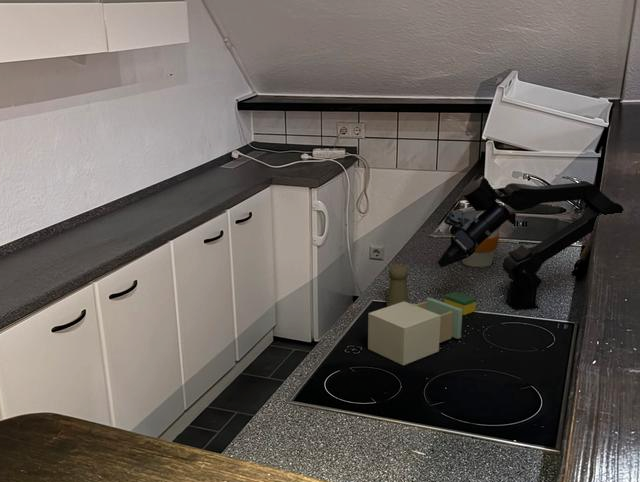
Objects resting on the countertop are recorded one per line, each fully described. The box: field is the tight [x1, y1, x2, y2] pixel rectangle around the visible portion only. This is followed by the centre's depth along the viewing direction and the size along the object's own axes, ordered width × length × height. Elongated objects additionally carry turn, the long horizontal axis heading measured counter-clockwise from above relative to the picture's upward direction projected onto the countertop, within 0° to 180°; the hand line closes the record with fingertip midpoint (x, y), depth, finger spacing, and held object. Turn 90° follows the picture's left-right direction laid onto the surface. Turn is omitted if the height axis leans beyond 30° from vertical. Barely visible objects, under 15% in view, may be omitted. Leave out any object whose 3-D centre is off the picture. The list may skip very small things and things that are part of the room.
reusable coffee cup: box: [461, 209, 501, 268], centre depth 233 cm, size 13×13×15 cm
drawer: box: [414, 297, 463, 344], centre depth 181 cm, size 12×10×7 cm
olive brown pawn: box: [385, 264, 410, 307], centre depth 202 cm, size 6×6×11 cm
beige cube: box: [367, 301, 441, 366], centre depth 176 cm, size 12×12×9 cm
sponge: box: [443, 291, 477, 316], centre depth 200 cm, size 7×4×4 cm, turn 37°
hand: (439, 265), depth 195 cm, fingers open, 9 cm apart
